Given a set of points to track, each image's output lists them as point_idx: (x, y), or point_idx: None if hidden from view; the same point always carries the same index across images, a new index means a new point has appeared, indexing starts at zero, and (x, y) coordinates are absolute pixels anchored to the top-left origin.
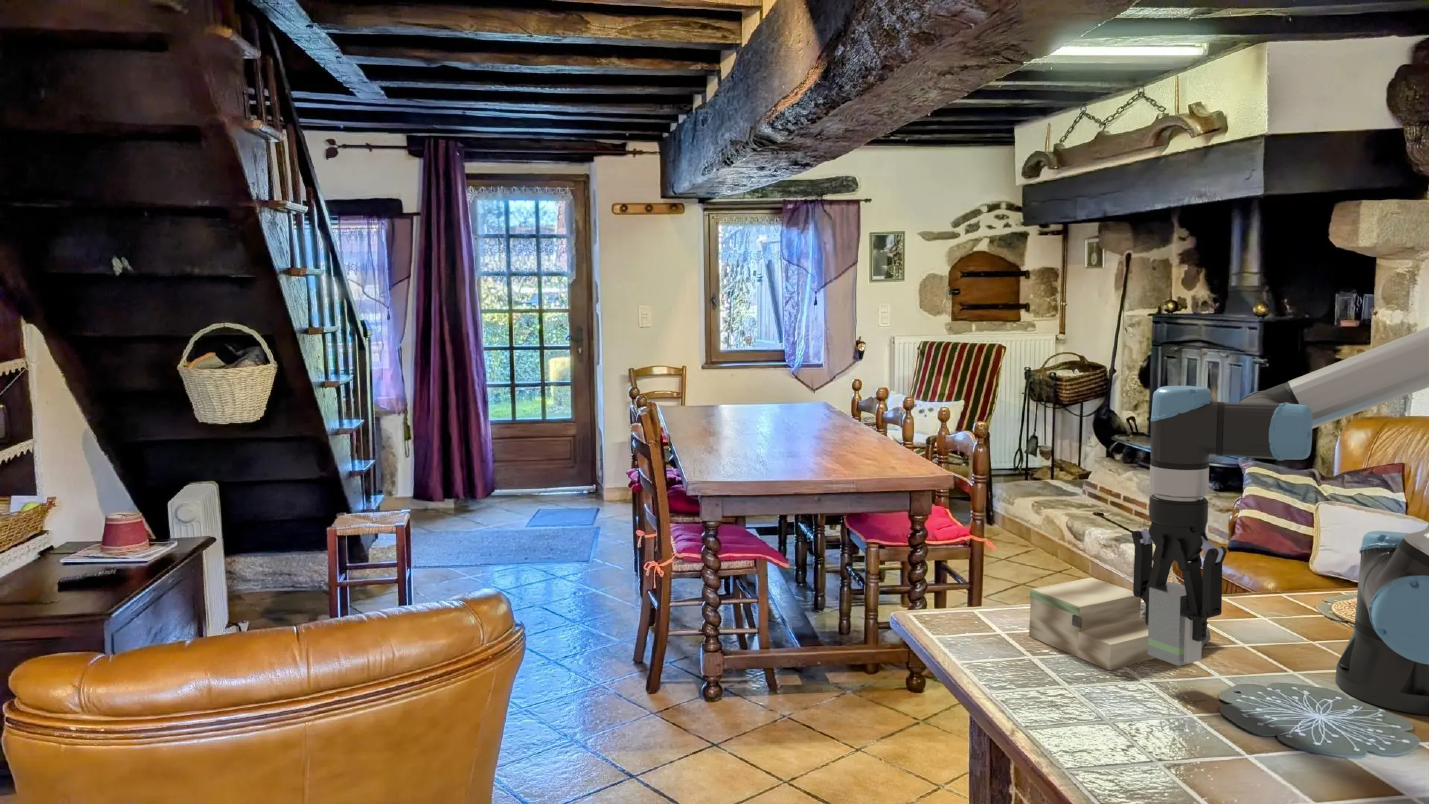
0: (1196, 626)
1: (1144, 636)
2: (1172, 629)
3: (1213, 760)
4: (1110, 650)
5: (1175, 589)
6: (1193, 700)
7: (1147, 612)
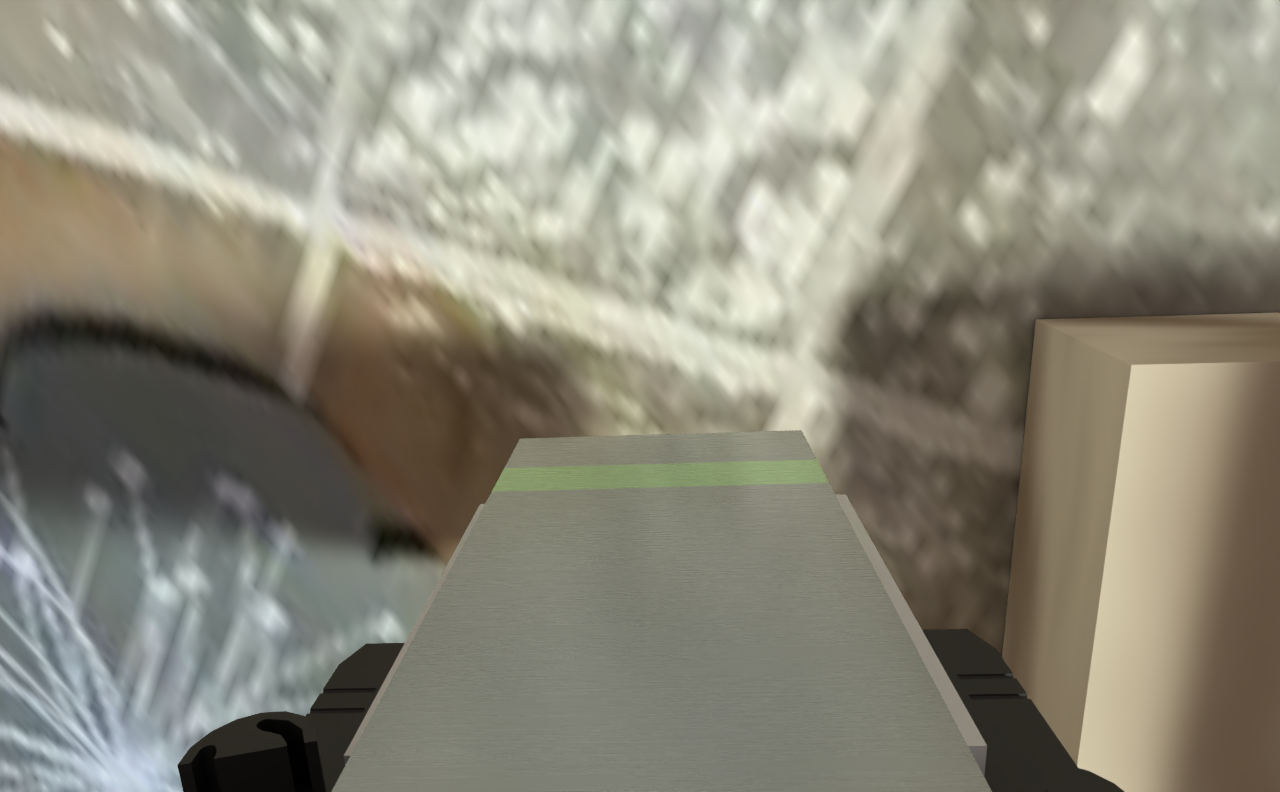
0: (334, 741)
1: (1082, 730)
2: (539, 566)
3: None
4: (1106, 356)
5: None
6: (473, 410)
7: (1012, 718)
